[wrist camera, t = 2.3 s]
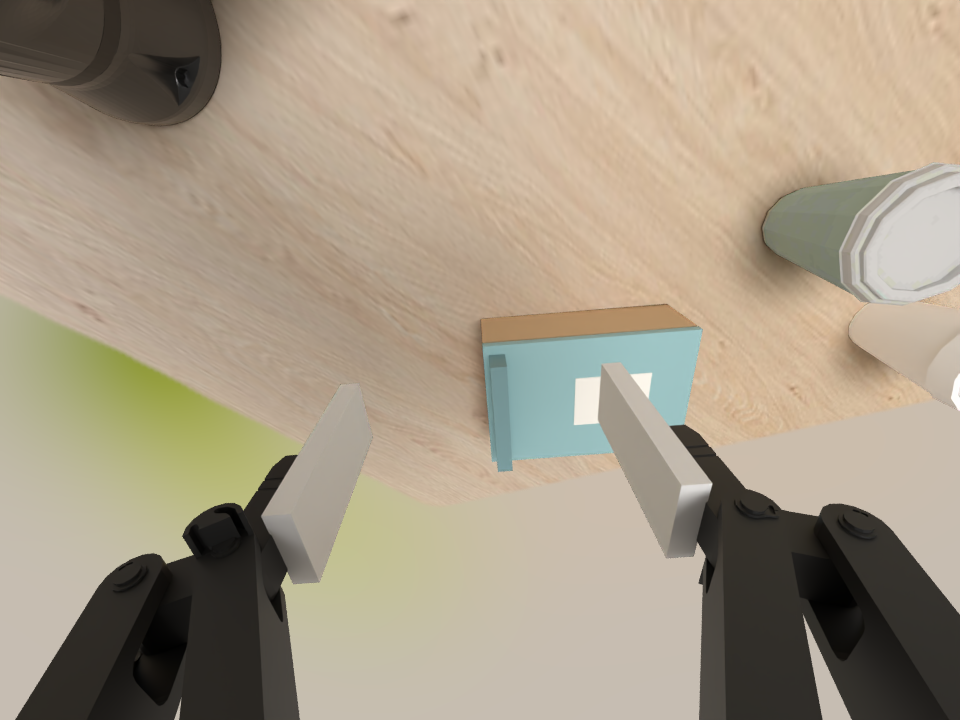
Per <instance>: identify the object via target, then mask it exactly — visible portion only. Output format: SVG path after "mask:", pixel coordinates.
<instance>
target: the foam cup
mask: <svg viewBox="0 0 960 720" xmlns="http://www.w3.org/2000/svg"><path fill="white" fill-rule="evenodd" d="M849 337H850V338H851V340H852V341H853V343H855V344H857V345H858V346H859V347H861V348H862V349H864V350H865V351H867V352H868V353H870V354H871V355H873V356H874V357H876V358H877V359H879V360H880V361H882V362H883V363H885V364H886V365H888V366H889V367H891V368H892V369H894V370H895V371H897V372H898V373H900V374H901V375H903V376H905V377H906V378H908V379H909V380H911V381H912V382H914V383H915V384H917V385H918V386H920V387H921V388H923V389H924V390H926V391H927V392H929V393H930V394H931V396H932V397H933V398H934V399H936V400H938V401H940V402H942V403H944V404H946V405H948V406H950V407H952V408H954V409H956V410H958V411H960V309H959V308H953V307H947V306H942V305H936V304H930V303H924V302H918V301H917V302H914V303H909V304H907V305H904V306H900V305H888V304H876V303H868V304H867V305H865V306H864V307H863V308H862V309H861V310H860V311H859V312H857V313H856V314H855V316H854V318H853V319H852V321H851V323H850V325H849Z"/></svg>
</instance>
